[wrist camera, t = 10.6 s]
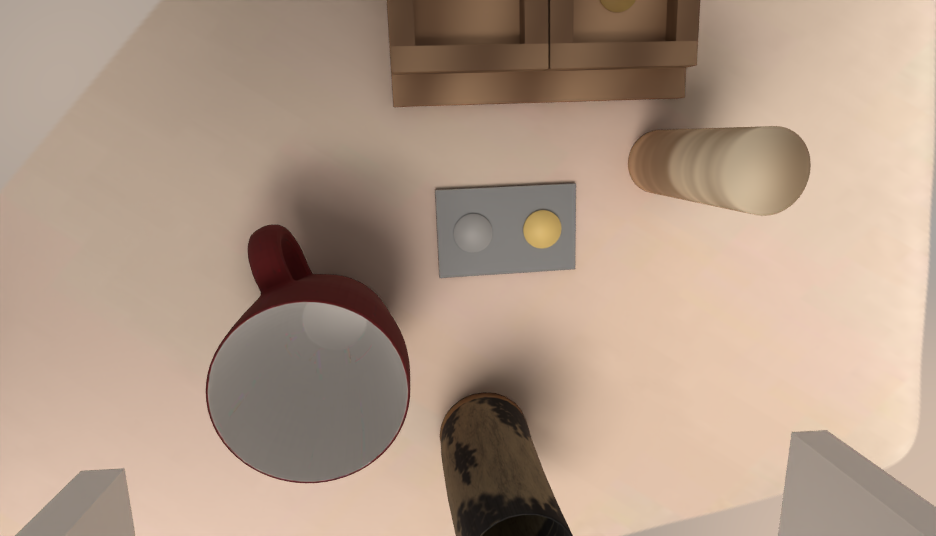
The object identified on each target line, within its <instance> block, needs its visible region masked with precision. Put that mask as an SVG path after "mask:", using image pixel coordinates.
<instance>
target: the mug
mask: <svg viewBox="0 0 936 536" xmlns="http://www.w3.org/2000/svg"><path fill="white" fill-rule="evenodd" d="M248 258H249V263H250V267H251V270H252V274H253V276H254V279H255V281H256V283H257V285H258V287H259V289H260V291H261V296H260V297H259V298H258V300H257V301H256V302H255V303H254V304H253V305H252V306H251V307H250V308H249V309H248V310H247V311H246V312H245V313H244V314H243V315H242V316H241V318H240V319H239V320H238V321H237V322H236V323H235V325H234V326H233V327H232V328H231V330H230V331H229V332H228V334H227V335H226V336H225V338H224V339H223V341H222V342H221V344H220V345H219V347H218V349H217V350H216V352H215V354H214V357H213V359H212V361H211V364H210V367H209V371H208V375H207V381H206V402H207V408H208V412H209V415H210V419H211V421H212V424H213V426H214V428H215V430H216V432H217V434H218V436H219V437H220V439H221V440H222V442H223V443H224V444H225V445H226V447H227V448H228V449H229V450H230V451H231V452H232V453H233V454H234V455H235V456H236V457H237V458H238V459H240V460H241V461H242V462H243V463H245V464H246V465H248V466H249V467H251V468H253V469H254V470H256V471H258V472H260V473H262V474H265V475H267V476H270V477H273V478H276V479H279V480H284V481H289V482H296V483H320V482H327V481H332V480H337V479H340V478H343V477H346V476H349V475H351V474H354V473H356V472H358V471H360V470H362V469H363V468H365V467H367V466H368V465H370V464H371V463H372V462H374V461H375V460H376V459H378V458H379V457H380V456H381V455H382V454H383V453H384V452H385V451H386V450H387V449H388V448H389V447H390V445H391V444H392V443H393V441H394V440H395V438H396V437H397V435H398V434H399V432H400V430H401V428H402V426H403V423H404V421H405V418H406V415H407V411H408V407H409V400H410V365H409V358H408V352H407V348H406V345H405V341H404V339H403V336H402V334H401V331H400V329H399V328H398V326H397V324H396V322H395V320H394V319H393V317H392V316H391V314H390V313H389V311H388V309H387V308H386V306H385V305H384V303H383V302H382V300H381V299H380V298H379V297H378V296H377V295H376V294H375V293H374V292H373V291H372V290H371V289H370V288H368V287H367V286H365V285H364V284H362V283H360V282H358V281H356V280H354V279H351V278H348V277H345V276H340V275H329V274H312V272H311V270H310V268H309V266H308V264H307V261H306V259H305V257H304V254H303V252H302V250H301V248H300V246H299V244H298V243H297V241H296V239H295V238H294V237H293V235H292V234H291V233H290V232H289V230H287V229H286V228H285V227H283V226H280V225H267V226H264V227H262V228H260V229H258V230H257V231H255V232H254V233H253V234H252V235H251V237H250V239H249V243H248Z"/></svg>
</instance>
